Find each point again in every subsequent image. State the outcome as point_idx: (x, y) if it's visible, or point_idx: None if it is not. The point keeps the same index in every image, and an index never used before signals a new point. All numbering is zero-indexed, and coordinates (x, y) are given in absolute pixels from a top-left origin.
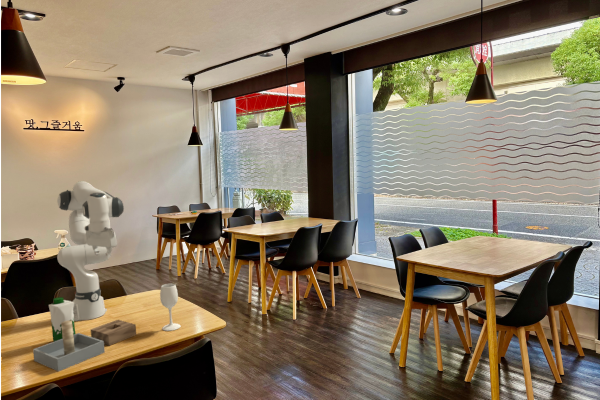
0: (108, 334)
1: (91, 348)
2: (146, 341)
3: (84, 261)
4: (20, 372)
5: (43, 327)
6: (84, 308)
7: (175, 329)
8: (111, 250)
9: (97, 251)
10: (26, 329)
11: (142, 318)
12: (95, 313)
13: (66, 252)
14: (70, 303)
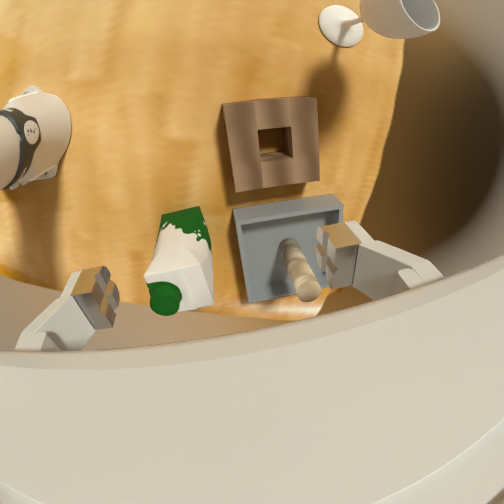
0: (317, 179)
1: None
2: (362, 111)
3: None
4: (274, 306)
5: (55, 237)
6: (45, 157)
7: (362, 33)
8: (406, 254)
9: (99, 310)
10: (49, 262)
11: (193, 20)
12: (62, 124)
13: None
14: (203, 273)
